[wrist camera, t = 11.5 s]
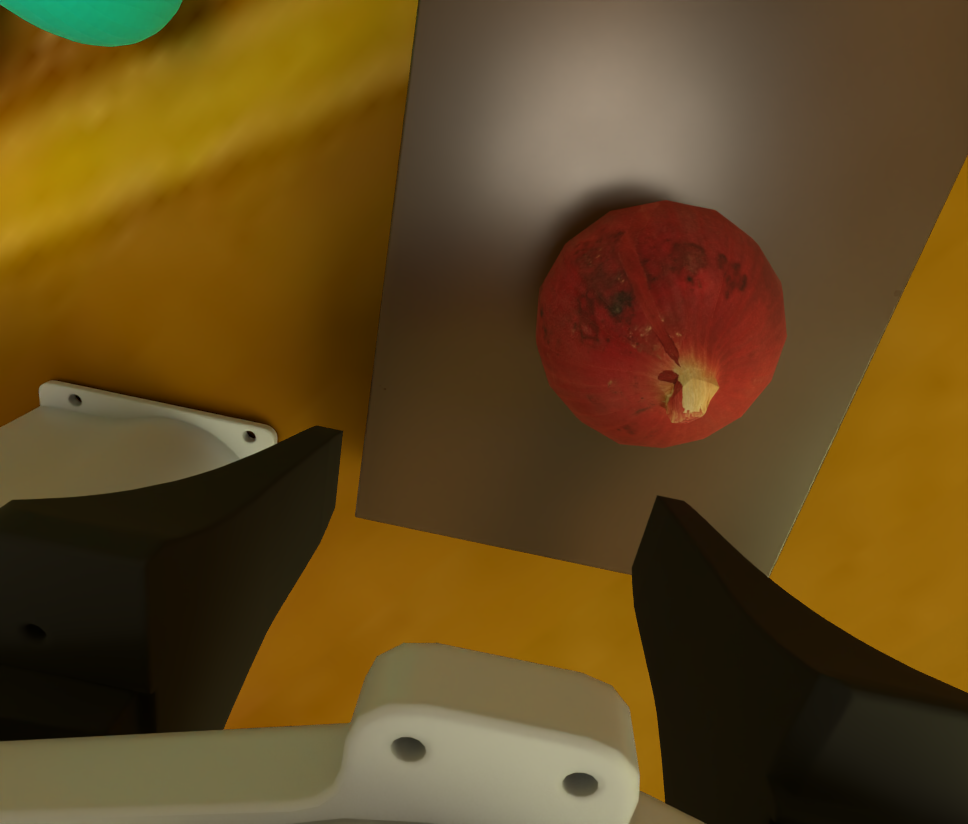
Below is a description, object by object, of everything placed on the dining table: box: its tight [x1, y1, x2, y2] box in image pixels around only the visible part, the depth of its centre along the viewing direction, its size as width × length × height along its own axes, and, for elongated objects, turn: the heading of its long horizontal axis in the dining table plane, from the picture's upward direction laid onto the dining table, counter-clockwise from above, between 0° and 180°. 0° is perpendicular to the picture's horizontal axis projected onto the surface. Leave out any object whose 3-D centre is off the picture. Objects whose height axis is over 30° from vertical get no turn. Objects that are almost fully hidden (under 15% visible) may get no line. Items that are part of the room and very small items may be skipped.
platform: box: [355, 0, 968, 577], centre depth 20 cm, size 15×20×3 cm
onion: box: [536, 200, 787, 448], centre depth 15 cm, size 6×6×8 cm
